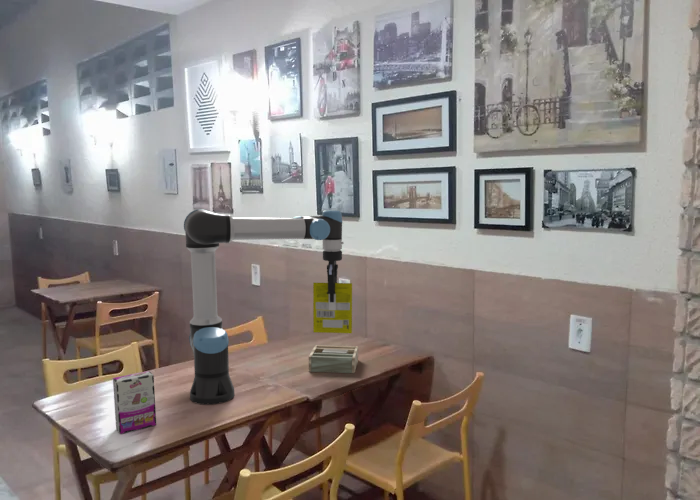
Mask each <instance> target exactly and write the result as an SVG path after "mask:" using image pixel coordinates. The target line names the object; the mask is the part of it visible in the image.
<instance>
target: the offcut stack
mask: <svg viewBox="0 0 700 500" xmlns="http://www.w3.org/2000/svg"><path fill="white" fill-rule="evenodd" d="M322 353H338V354H348V350H337V349H324V350H323V351H322Z"/></svg>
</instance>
